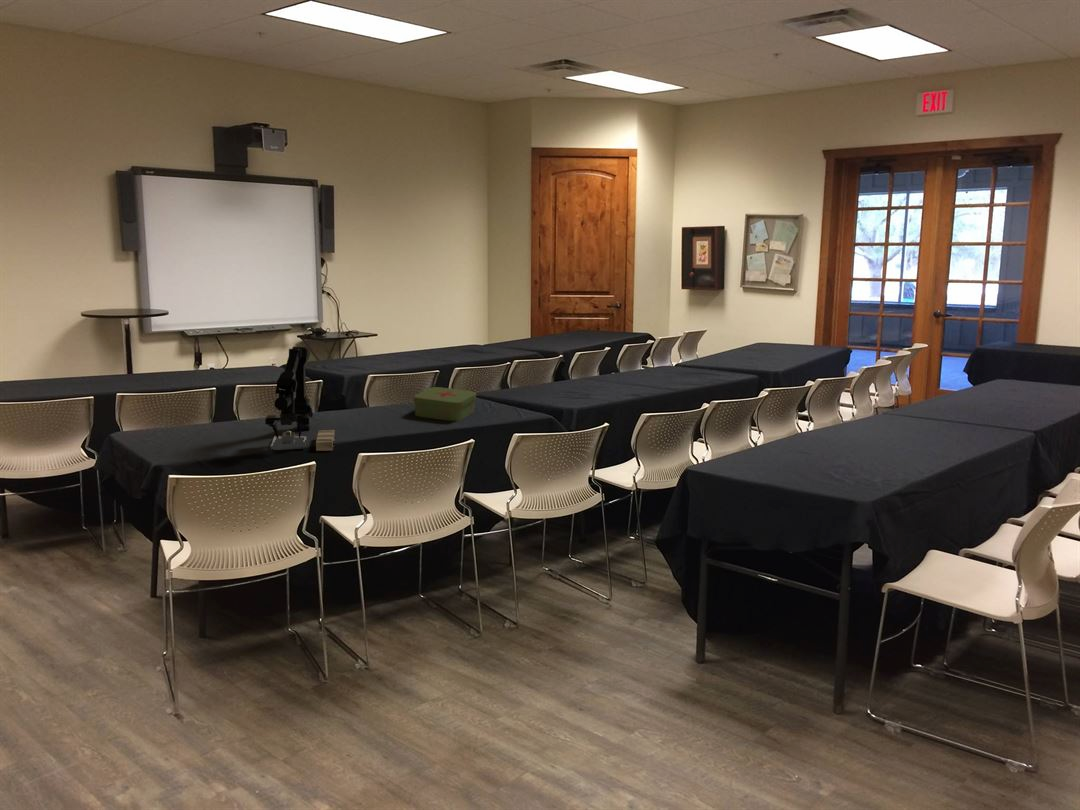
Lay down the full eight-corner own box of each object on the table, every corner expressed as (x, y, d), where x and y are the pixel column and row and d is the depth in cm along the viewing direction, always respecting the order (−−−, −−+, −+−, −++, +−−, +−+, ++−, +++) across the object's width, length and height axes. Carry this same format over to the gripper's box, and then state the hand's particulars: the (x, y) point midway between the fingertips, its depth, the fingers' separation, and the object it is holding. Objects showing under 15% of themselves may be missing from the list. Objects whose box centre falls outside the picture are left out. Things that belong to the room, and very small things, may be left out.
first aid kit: (410, 416, 447) (410, 397, 445) (432, 404, 471) (433, 386, 469) (458, 422, 439) (458, 403, 437) (478, 410, 463) (478, 391, 461)
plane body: (318, 438, 403) (318, 430, 402) (334, 438, 404) (334, 430, 403) (316, 450, 386) (315, 441, 384) (332, 450, 387) (332, 441, 386)
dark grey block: (283, 441, 395) (283, 430, 393) (295, 441, 395) (294, 430, 394) (281, 446, 388) (281, 434, 387) (293, 446, 389) (293, 434, 387)
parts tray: (274, 439, 398) (274, 436, 398) (306, 439, 401) (306, 436, 400) (270, 450, 383) (270, 447, 383) (303, 450, 385) (303, 446, 385)
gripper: (263, 409, 378) (264, 444, 382) (307, 409, 381) (308, 443, 385) (266, 402, 388) (267, 436, 392) (309, 402, 392) (310, 436, 396)
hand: (288, 438), depth 391 cm, fingers open, 9 cm apart
